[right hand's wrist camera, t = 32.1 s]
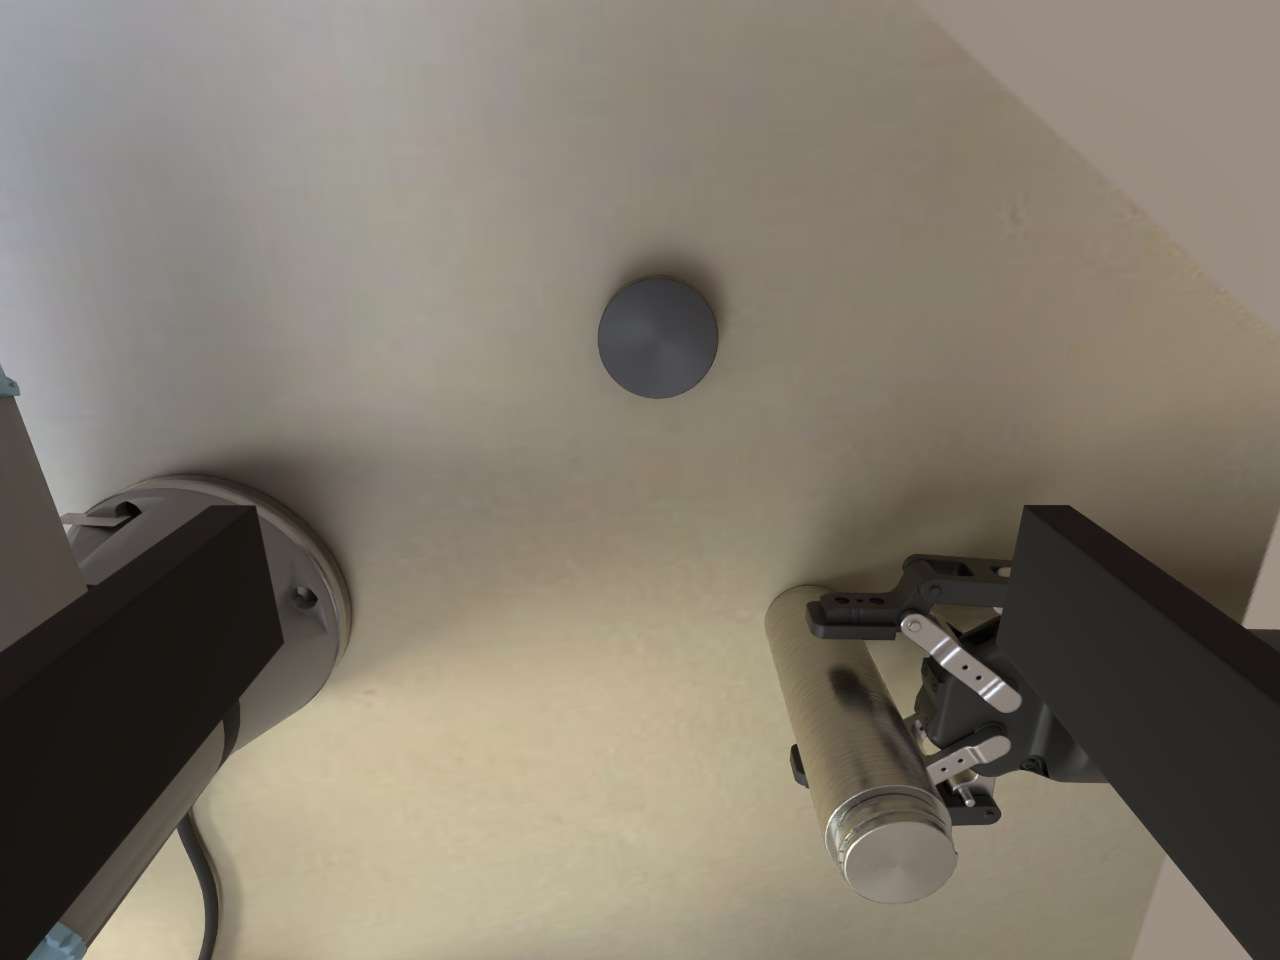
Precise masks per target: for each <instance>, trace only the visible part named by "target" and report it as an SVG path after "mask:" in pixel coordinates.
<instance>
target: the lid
mask: <svg viewBox="0 0 1280 960" xmlns="http://www.w3.org/2000/svg"><path fill="white" fill-rule="evenodd" d="M717 346H718V329H717V324H716V320H715V317H714V315H713V312H712V310H711V308H710V307H709V305H708V303H707V302H706V300H705V299H704V298H703V296H702V295H701V294H700V293H699V292H698V291H697V290H696V289H695V288H694V287H692V286H691V285H690V284H688V283H686V282H685V281H683V280H680V279H678V278H675V277H671V276H665V275H651V276H645V277H641V278H638V279H636V280H633V281H631V282H630V283H628V284H626V285H625V286H623V287H622V288H621V289H620V290H618V292H617V293H616V294H615V295H614V296H613V297H612V298H611V300H610V301H609V303H608V305H607V306H606V308H605V310H604V313H603V316H602V318H601V321H600V325H599V330H598V347H599V353H600V356H601V359H602V362H603V364H604V366H605V368H606V370H607V371H608V373H609V374H610V375H611V377H612V378H613V379H614V380H615V381H616V382H617V383H618V384H619V385H620V386H622V387H623V388H624V389H626V390H628V391H629V392H631V393H634V394H636V395H639V396H642V397H646V398H654V399H661V398H669V397H673V396H677V395H679V394H682V393H684V392H686V391H688V390H689V389H691V388H692V387H694V386H695V385H696V384H697V383H698V382H700V381H701V380H702V379H703V377H704V376H705V375H706V374H707V372H708V371H709V369H710V367H711V365H712V363H713V361H714V359H715V355H716V352H717Z"/></svg>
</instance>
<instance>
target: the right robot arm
mask: <svg viewBox="0 0 1280 960" xmlns="http://www.w3.org/2000/svg"><path fill="white" fill-rule="evenodd" d="M19 395H20V391H19V387H18V385H17V382H15V381H13V380H12V379H10V378H8V377H7V376H6V375H5V373H4V371H3V369H2V367H1V364H0V960H82V958H83V957H84V955H85V953H86V952H87V949H88V948H89V946H90V945H91V943H92V942H93V941H94V939H95V938H96V937H97V935H98V934H99V933H100V931H101V930H102V928H103V927H104V926H105V924H106V923H107V922H108V920H109V919H110V917H111V916H112V915H113V913H114V912H115V911H116V909H117V908H118V907H119V905H120V904H121V902H122V901H123V900H124V898H125V897H126V896H127V894H128V893H129V891H130V890H131V889H132V887H133V886H134V885H135V883H136V882H137V881H138V879H139V878H140V876H141V875H142V874H143V872H144V871H145V870H146V868H147V867H148V865H149V864H150V863H151V861H152V860H153V859H154V857H155V856H156V855H157V853H158V852H159V850H160V849H161V848H162V846H163V845H164V844H165V842H166V841H167V840H168V838H169V837H170V835H171V834H172V833H173V831H174V830H175V829H176V827H177V830H178V833H179V836H180V838H181V841H182V843H183V845H184V847H185V850H186V852H187V854H188V856H189V858H190V860H191V862H192V865H193V867H194V869H195V872H196V874H197V877H198V879H199V882H200V885H201V889H202V893H203V898H204V906H205V933H204V939H203V945H202V949H201V952H200V956H199V959H198V960H210V959H211V956H212V952H213V948H214V944H215V940H216V935H217V928H218V898H217V891H216V886H215V882H214V878H213V875H212V872H211V870H210V867H209V865H208V862H207V860H206V857H205V855H204V853H203V851H202V849H201V846H200V844H199V842H198V840H197V838H196V835H195V833H194V830H193V828H192V825H191V822H190V818H189V815H188V811H189V809H190V808H191V807H192V805H193V804H194V803H195V801H196V800H197V798H198V797H199V796H200V794H201V793H202V792H203V790H204V789H205V788H206V786H207V785H208V783H209V782H210V781H211V779H212V778H213V776H214V775H215V774H216V772H217V771H218V770H219V768H220V767H221V766H222V764H223V763H224V762H225V761H226V759H227V758H228V757H229V756H230V755H231V754H232V753H234V752H235V751H237V750H238V749H240V748H242V747H243V746H245V745H246V744H248V743H249V742H251V741H252V740H254V739H255V738H257V737H258V736H260V735H261V734H263V733H264V732H266V731H267V730H269V729H270V728H272V727H273V726H275V725H277V724H278V723H280V722H281V721H283V720H284V719H286V718H287V717H289V716H290V715H292V714H293V713H295V712H296V711H298V710H299V709H301V708H302V707H303V706H305V705H306V704H307V703H308V702H310V701H311V700H312V699H313V698H314V697H315V696H316V695H317V693H318V692H319V691H320V690H321V688H322V687H323V686H324V684H325V683H326V681H327V680H328V678H329V677H330V675H331V674H332V672H333V671H334V669H335V668H336V666H337V665H338V663H339V661H340V660H341V658H342V656H343V653H344V651H345V649H346V646H347V642H348V639H349V633H350V625H351V610H350V602H349V596H348V592H347V588H346V585H345V582H344V579H343V577H342V574H341V572H340V570H339V568H338V566H337V564H336V562H335V560H334V558H333V557H332V555H331V554H330V552H329V551H328V549H327V548H326V546H325V545H324V544H323V543H322V541H321V540H320V539H319V537H318V536H317V535H316V534H315V533H314V532H313V531H312V530H311V529H310V528H309V527H308V526H307V525H306V524H305V523H304V522H303V521H302V520H301V519H300V518H298V517H297V516H296V515H295V514H293V513H292V512H291V511H289V510H288V509H287V508H285V507H284V506H282V505H281V504H279V503H278V502H276V501H275V500H273V499H271V498H269V497H267V496H266V495H264V494H262V493H260V492H257V491H255V490H253V489H251V488H248V487H246V486H243V485H240V484H237V483H234V482H231V481H227V480H223V479H219V478H213V477H208V476H198V475H171V476H163V477H157V478H152V479H149V480H145V481H142V482H139V483H137V484H134V485H132V486H130V487H127V488H126V489H124V490H122V491H120V492H118V493H116V494H114V495H113V496H111V497H109V498H107V499H105V500H104V501H102V502H100V503H98V504H97V505H95V506H93V507H92V508H91V509H89V510H88V511H87V512H85V513H84V514H80V513H67V514H65V515H63V516H61V517H59V514H58V512H57V509H56V506H55V504H54V501H53V499H52V496H51V493H50V491H49V488H48V485H47V483H46V480H45V478H44V475H43V472H42V470H41V467H40V464H39V462H38V459H37V456H36V454H35V451H34V449H33V446H32V443H31V441H30V438H29V435H28V433H27V430H26V427H25V425H24V422H23V420H22V417H21V414H20V412H19V409H18V406H17V404H16V401H15V398H14V396H19ZM62 524H74V525H73V526H72V527H71V528H70V530H69V531H68V532H67V534H66V533H65V530H64V528H63V525H62ZM996 644H997V645H998V646H999V648H1000V649H1001V650H1002V651H1003V653H1004V654H1005V655H1006V656H1007V657H1008V659H1009V660H1010V661H1011V662H1012V664H1013V665H1014V666H1015V667H1016V669H1017V670H1018V671H1019V672H1020V673H1021V675H1022V676H1023V677H1024V678H1025V680H1026V681H1027V682H1028V683H1029V685H1030V686H1031V687H1032V688H1033V689H1034V691H1035V692H1036V693H1037V694H1038V696H1039V697H1040V698H1041V699H1042V701H1043V702H1044V703H1045V704H1046V705H1047V707H1048V708H1049V709H1050V710H1051V712H1052V713H1053V714H1054V715H1055V717H1056V718H1057V719H1058V720H1059V721H1060V723H1061V724H1062V725H1063V726H1064V728H1065V729H1066V730H1067V731H1068V732H1069V734H1070V735H1071V736H1072V737H1073V739H1074V740H1075V741H1076V742H1077V744H1078V745H1079V746H1080V747H1081V748H1082V750H1083V751H1084V752H1085V753H1086V755H1087V756H1088V757H1089V758H1090V760H1091V761H1092V762H1093V763H1094V764H1095V766H1096V767H1097V768H1098V769H1099V771H1100V772H1101V773H1102V774H1103V776H1104V777H1105V778H1106V779H1107V780H1108V782H1109V783H1110V784H1111V785H1112V787H1113V788H1114V789H1115V790H1116V792H1117V793H1118V794H1119V795H1120V796H1121V798H1122V799H1123V800H1124V801H1125V803H1126V804H1127V805H1128V806H1129V807H1130V809H1131V810H1132V811H1133V812H1134V814H1135V815H1136V816H1137V817H1138V819H1139V820H1140V821H1141V822H1142V823H1143V825H1144V826H1145V827H1146V828H1147V830H1148V831H1149V832H1150V833H1151V835H1152V836H1153V837H1154V838H1155V839H1156V841H1157V842H1158V843H1159V844H1160V846H1161V847H1162V848H1163V849H1164V851H1165V852H1166V853H1167V854H1168V855H1169V857H1170V858H1171V859H1172V860H1173V862H1174V863H1175V864H1176V865H1177V866H1178V868H1179V869H1180V870H1181V871H1182V873H1183V874H1184V875H1185V876H1186V878H1187V879H1188V880H1189V881H1190V882H1191V884H1192V885H1193V886H1194V887H1195V889H1196V890H1197V891H1198V892H1199V894H1200V895H1201V896H1202V897H1203V898H1204V900H1205V901H1206V902H1207V903H1208V905H1209V906H1210V907H1211V908H1212V910H1213V911H1214V912H1215V913H1216V914H1217V916H1218V917H1219V918H1220V919H1221V921H1222V922H1223V923H1224V924H1225V926H1226V927H1227V928H1228V929H1229V930H1230V932H1231V933H1232V934H1233V935H1234V936H1235V938H1236V939H1237V940H1238V941H1239V943H1240V944H1241V945H1242V946H1243V948H1244V949H1245V950H1246V951H1247V953H1248V954H1249V955H1250V956H1251V958H1252V959H1253V960H1280V652H1279V651H1277V650H1276V649H1274V648H1273V647H1271V646H1270V645H1269V644H1267V643H1266V642H1264V641H1263V640H1261V639H1260V638H1259V637H1257V636H1256V635H1254V634H1253V633H1251V632H1250V631H1248V630H1247V629H1246V628H1244V627H1243V626H1241V625H1240V624H1238V623H1237V622H1236V621H1234V620H1233V619H1231V618H1230V617H1228V616H1227V615H1226V614H1224V613H1223V612H1221V611H1220V610H1218V609H1217V608H1216V607H1214V606H1213V605H1211V604H1210V603H1208V602H1207V601H1206V600H1204V599H1203V598H1201V597H1200V596H1198V595H1197V594H1196V593H1194V592H1193V591H1191V590H1190V589H1188V588H1187V587H1185V586H1184V585H1183V584H1181V583H1180V582H1178V581H1177V580H1175V579H1174V578H1173V577H1171V576H1170V575H1168V574H1167V573H1165V572H1164V571H1163V570H1161V569H1160V568H1158V567H1157V566H1155V565H1154V564H1153V563H1151V562H1150V561H1148V560H1147V559H1145V558H1144V557H1143V556H1141V555H1140V554H1138V553H1137V552H1135V551H1134V550H1132V549H1131V548H1130V547H1128V546H1127V545H1125V544H1124V543H1122V542H1121V541H1120V540H1118V539H1117V538H1115V537H1114V536H1112V535H1111V534H1110V533H1108V532H1107V531H1105V530H1104V529H1102V528H1101V527H1100V526H1098V525H1097V524H1095V523H1094V522H1092V521H1091V520H1090V519H1088V518H1087V517H1085V516H1084V515H1082V514H1081V513H1080V512H1078V511H1077V510H1075V509H1074V508H1072V507H1071V506H1069V505H1024V508H1023V513H1022V518H1021V523H1020V528H1019V532H1018V537H1017V542H1016V547H1015V552H1014V556H1013V561H1012V566H1011V571H1010V576H1009V581H1008V585H1007V590H1006V595H1005V600H1004V605H1003V609H1002V614H1001V619H1000V624H999V629H998V633H997V638H996Z"/></svg>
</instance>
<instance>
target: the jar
mask: <svg viewBox="0 0 1280 960" xmlns="http://www.w3.org/2000/svg"><path fill="white" fill-rule="evenodd" d="M828 593H835V592H833V591H831V590H829V589H827V588H824V587H821V586H815V585H806V586H799V587H796V588H792V589H790V590H788V591H786V592H784V593H783V594H781V595H780V596H779V597H778V598H777V599H776V600H775V601H774V602H773V603H772V604H771V606H770V608H769V609H768V612H767V614H766V618H765V631H766V635H767V638H768V642H769V645H770V649H771V653H772V656H773V660H774V663H775V667H776V671H777V674H778V678H779V681H780V685H781V688H782V692H783V696H784V699H785V703H786V706H787V710H788V714H789V717H790V721H791V724H792V728H793V732H794V735H795V739H796V742H797V746H798V749H799V753H800V757H801V760H802V764H803V767H804V771H805V775H806V778H807V782H808V785H809V789H810V792H811V796H812V800H813V803H814V807H815V810H816V814H817V818H818V821H819V825H820V828H821V832H822V836H823V839H824V843H825V846H826V849H827V852H828V854H829V855H830V857H831V859H832V860H833V861H834V862H835V863H836V864H837V865H838V866H839V868H840V872H841V875H842V876H843V878H844V879H845V881H846V882H847V883H848V885H849V886H850V887H852V889H853V890H854V891H856V892H857V893H858V894H859V895H861V896H862V897H864V898H866V899H869V900H872V901H875V902H879V903H885V904H902V903H909V902H913V901H916V900H919V899H922V898H924V897H926V896H929V895H930V894H932V893H934V892H935V891H936V890H938V889H939V888H940V887H941V886H943V885H944V884H945V882H946V881H947V880H948V879H949V877H951V875H952V873H953V871H954V869H955V867H956V866H957V859H958V853H957V852H955V849H954V844H953V839H952V834H951V832H952V822H951V817H950V814H949V812H948V810H947V808H946V806H945V804H944V802H943V800H942V798H941V796H940V794H939V792H938V790H937V788H936V786H935V784H934V782H933V780H932V778H931V776H930V774H929V772H928V770H927V768H926V766H925V764H924V762H923V760H922V758H921V756H920V754H919V752H918V750H917V748H916V746H915V744H914V741H913V739H912V737H911V735H910V733H909V731H908V729H907V727H906V725H905V723H904V721H903V719H902V717H901V715H900V713H899V711H898V709H897V707H896V705H895V703H894V701H893V699H892V697H891V695H890V693H889V691H888V689H887V687H886V685H885V683H884V681H883V679H882V677H881V675H880V673H879V671H878V669H877V667H876V665H875V663H874V661H873V659H872V657H871V655H870V653H869V651H868V649H867V647H866V645H865V643H864V641H863V640H854V639H820V638H817V637H815V636H813V635H812V634H811V632H810V630H809V627H808V624H807V622H806V619H805V614H806V605H807V603H808V602H810V601H820V596H822V595H825V594H828Z"/></svg>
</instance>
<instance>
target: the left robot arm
mask: <svg viewBox="0 0 1280 960" xmlns="http://www.w3.org/2000/svg"><path fill="white" fill-rule="evenodd" d="M1011 566H1012V561H1008V560H994V559H980V558H966V557H952V556H938V555H924V554H914V555H911V556H909V557H908V558H906V560H905V561H904V563H903V571H904V572H905V573H904V574H903V576H902V578H901V580H900V581H899V583H898V585H897V586H896V587H895V588H893V589H891V590H890V591H888V592H887V593H828V594H825V595H822V596H820V601H810V602H808V603H807V605H806V614H805V619H806V622H807V624H808V627H809V630H810V632H811V634H812V635H813V636H815V637H817V638H820V639H854V640H895V635H896V632H903V634H904V635H906V636H907V637H908V638H910V639H911V640H912V641H914V642H915V643H916V644H918V645H919V646H920V647H922V648H923V649H924V650H926V651H927V652H928V653H929V654H930V657H929V658H923V663H922V669H921V673H922V681H923V685H922V687H921V689H920V691H919V693H918V695H917V697H916V701H915V707H914V710H915V712H916V713H915V714H913V715H911V716H909V717H907V718H906V719H904V720H903V721H904V723H905V725H906V727H907V729H908V731H909V733H910V735H911V737H912V739H913V741H914V744H915V746H916V748H917V750H918V752H919V754H920V756H921V758H922V760H923V762H924V764H925V766H926V768H927V770H928V772H929V774H930V776H931V778H932V780H933V782H934V784H935V786H936V788H937V790H938V792H939V794H940V796H941V798H942V800H943V802H944V804H945V806H946V808H947V810H948V812H949V814H950V817H951V822H952V826H958V825H989V824H993V823H995V822H997V821H998V820H999V819H1000V817H1001V811H1000V810H999V808H998V806H997V804H996V803H995V801H994V799H993V790H994V784H995V778H996V777H997V776H1001V775H1003V774H1006V773H1009V772H1012V771H1016V770H1026V771H1030V772H1033V773H1036V774H1039V775H1042V776H1044V777H1047V778H1049V779H1052V780H1055V781H1059V782H1075V783H1109V782H1108V780H1107V779H1106V778H1105V777H1104V776H1103V774H1102V773H1101V772H1100V771H1099V769H1098V768H1097V767H1096V766H1095V764H1094V763H1093V762H1092V761H1091V760H1090V758H1089V757H1088V756H1087V755H1086V753H1085V752H1084V751H1083V750H1082V748H1081V747H1080V746H1079V745H1078V744H1077V742H1076V741H1075V740H1074V739H1073V737H1072V736H1071V735H1070V734H1069V732H1068V731H1067V730H1066V729H1065V728H1064V726H1063V725H1062V724H1061V723H1060V721H1059V720H1058V719H1057V718H1056V717H1055V715H1054V714H1053V713H1052V712H1051V710H1050V709H1049V708H1048V707H1047V705H1046V704H1045V703H1044V702H1043V701H1042V699H1041V698H1040V697H1039V696H1038V694H1037V693H1036V692H1035V691H1034V689H1033V688H1032V687H1031V686H1030V685H1029V683H1028V682H1027V681H1026V680H1025V678H1024V677H1023V676H1022V675H1021V673H1020V672H1019V671H1018V670H1017V669H1016V667H1015V666H1014V665H1013V664H1012V662H1011V661H1010V660H1009V659H1008V657H1007V656H1006V655H1005V654H1004V653H1003V651H1002V650H1001V649H1000V648H999V646H998V645H997V644H996V638H997V633H998V629H999V624H1000V619H1001V616H998V617H995V618H993V619H991V620H989V621H987V622H985V623H983V624H982V625H980V626H978V627H976V628H974V629H972V630H970V631H968V632H967V633H964V632H963V631H962V630H961V629H959V628H958V627H957V626H955V625H954V624H953V623H952V622H950V621H949V620H948V619H946V618H945V617H944V616H942V615H941V614H940V613H939V612H937V611H936V610H935V609H933V608H932V607H933V605H934V603H939V604H954V605H968V606H982V607H992V608H993V609H994V610H995V611H996V612H997V613H998V614H1000V615H1001V614H1002V609H1003V605H1004V600H1005V595H1006V590H1007V585H1008V581H1009V576H1010V571H1011ZM1247 630H1248V631H1250V632H1251V633H1253V634H1254V635H1256V636H1257V637H1259V638H1260V639H1261V640H1263V641H1264V642H1266V643H1267V644H1269V645H1270V646H1271V647H1273V648H1274V649H1276V650H1277V651H1279V652H1280V630H1275V629H1274V630H1267V629H1247ZM926 737H928V738H929V740H930V741H931V742H932V743H933V744H934V745H935V746H937V747H938V748H939V749H941V751H939V752H937V753H935V754H933V755H927V754H926V752H925V750H924V748H923V746H922V742H923V740H924V739H925V738H926ZM790 763H791V766H792V770H793V774H794V778H795V780H796V781H797V782H798V783H799V784H801V785H804V786H806V788H809V785H808V782H807V778H806V775H805V771H804V767H803V764H802V760H801V757H800V753H799V749H798V746H797V744H795V745H793V746H792V747H791V754H790Z"/></svg>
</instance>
